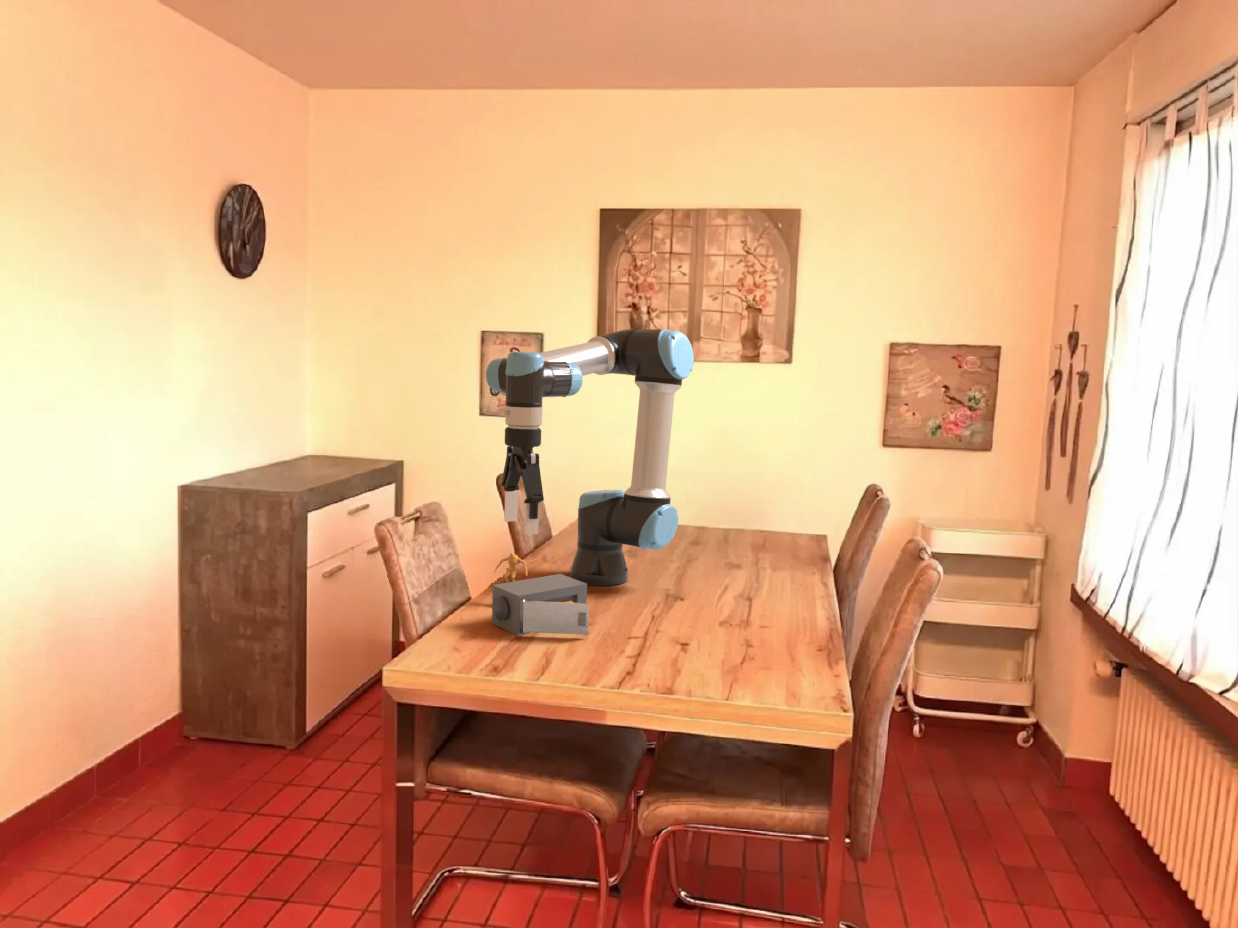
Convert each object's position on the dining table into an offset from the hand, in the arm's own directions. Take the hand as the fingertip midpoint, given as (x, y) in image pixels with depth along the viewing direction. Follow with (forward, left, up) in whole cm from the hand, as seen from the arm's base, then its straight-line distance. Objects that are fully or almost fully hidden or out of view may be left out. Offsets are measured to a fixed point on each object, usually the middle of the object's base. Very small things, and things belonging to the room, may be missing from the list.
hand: (520, 527), depth 196 cm
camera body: (-7, -2, -22) cm, 23 cm away
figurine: (-9, -17, -22) cm, 29 cm away
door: (-3, +9, -21) cm, 23 cm away
